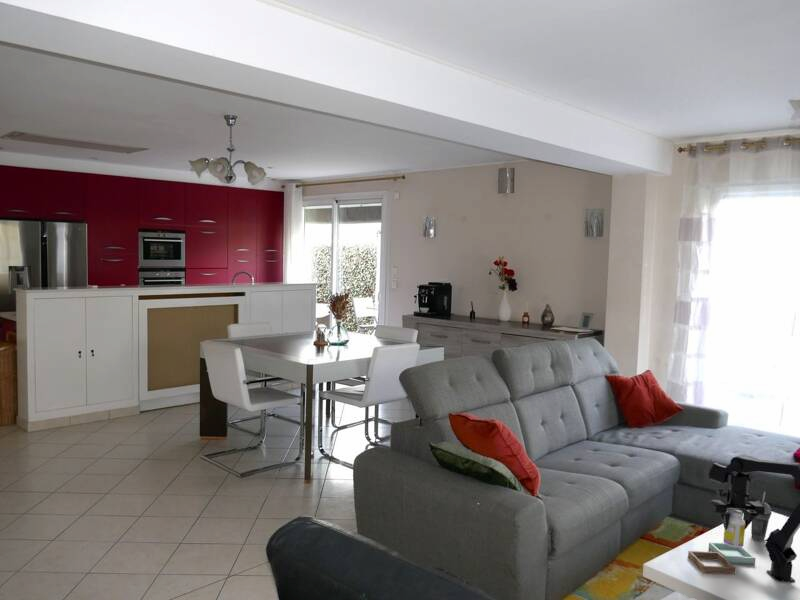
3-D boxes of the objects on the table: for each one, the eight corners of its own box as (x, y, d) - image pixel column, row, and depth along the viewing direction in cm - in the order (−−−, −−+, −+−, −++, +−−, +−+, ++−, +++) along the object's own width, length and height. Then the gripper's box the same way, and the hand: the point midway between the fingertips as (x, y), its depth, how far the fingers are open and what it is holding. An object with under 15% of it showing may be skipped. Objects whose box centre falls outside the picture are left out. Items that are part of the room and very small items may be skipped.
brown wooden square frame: (735, 574, 226) (735, 568, 225) (703, 573, 225) (704, 566, 225) (718, 558, 237) (718, 552, 237) (687, 557, 237) (688, 551, 236)
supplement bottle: (740, 542, 241) (744, 509, 240) (745, 550, 235) (748, 516, 234) (721, 539, 243) (724, 506, 242) (725, 546, 237) (728, 513, 236)
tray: (754, 564, 234) (755, 558, 234) (724, 563, 234) (725, 556, 233) (737, 549, 245) (738, 543, 245) (708, 548, 245) (709, 542, 245)
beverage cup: (763, 535, 259) (768, 488, 258) (771, 543, 252) (777, 495, 250) (744, 533, 260) (749, 486, 258) (752, 541, 253) (758, 493, 251)
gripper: (750, 481, 245) (746, 520, 247) (703, 479, 245) (699, 518, 246) (768, 493, 234) (763, 533, 236) (718, 490, 234) (714, 531, 235)
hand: (734, 529), depth 238 cm, fingers closed on supplement bottle, 7 cm apart
